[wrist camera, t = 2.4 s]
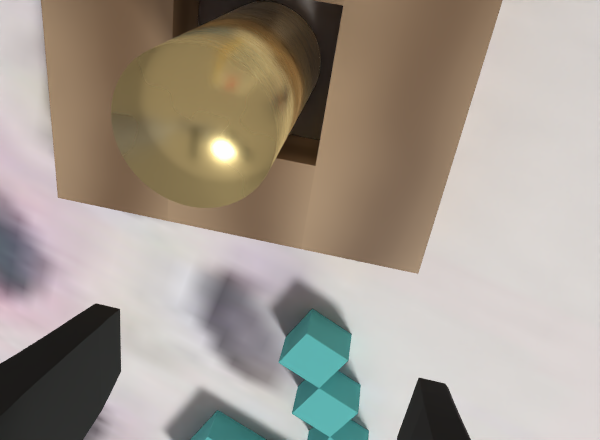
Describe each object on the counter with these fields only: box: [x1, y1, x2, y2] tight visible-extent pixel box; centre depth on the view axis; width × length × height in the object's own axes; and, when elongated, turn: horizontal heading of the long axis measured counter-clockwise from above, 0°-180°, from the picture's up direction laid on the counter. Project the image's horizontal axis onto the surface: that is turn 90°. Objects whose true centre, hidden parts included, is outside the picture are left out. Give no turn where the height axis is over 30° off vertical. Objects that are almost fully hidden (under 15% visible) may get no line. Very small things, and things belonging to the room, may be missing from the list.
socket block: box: [41, 0, 502, 274], centre depth 18 cm, size 14×12×2 cm
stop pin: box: [111, 1, 321, 208], centre depth 16 cm, size 4×4×8 cm
